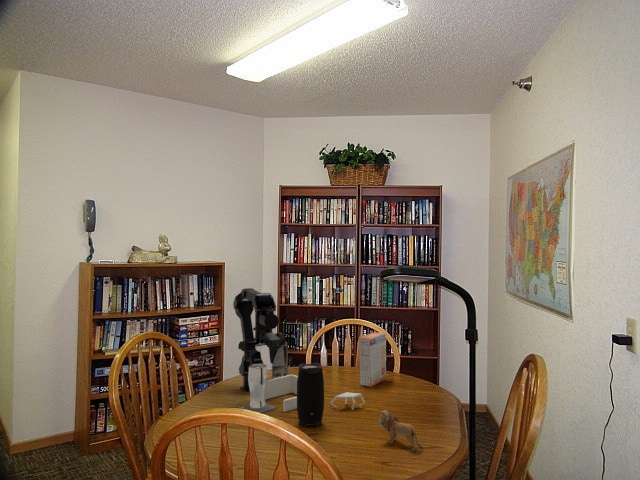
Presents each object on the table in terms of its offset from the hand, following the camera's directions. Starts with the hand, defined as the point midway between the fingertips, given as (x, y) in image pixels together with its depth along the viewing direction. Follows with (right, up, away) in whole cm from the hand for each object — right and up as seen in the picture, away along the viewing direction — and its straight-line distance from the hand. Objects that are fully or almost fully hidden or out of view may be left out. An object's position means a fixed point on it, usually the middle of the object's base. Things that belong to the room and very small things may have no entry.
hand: (262, 365), depth 185 cm
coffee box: (+5, -14, +26) cm, 30 cm away
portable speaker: (+19, -13, -26) cm, 35 cm away
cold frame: (+10, -13, -3) cm, 17 cm away
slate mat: (-1, -13, -11) cm, 17 cm away
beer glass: (0, -13, -11) cm, 17 cm away
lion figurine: (+46, -13, -42) cm, 64 cm away
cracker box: (+46, -14, +22) cm, 53 cm away
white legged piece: (+32, -13, -10) cm, 36 cm away
